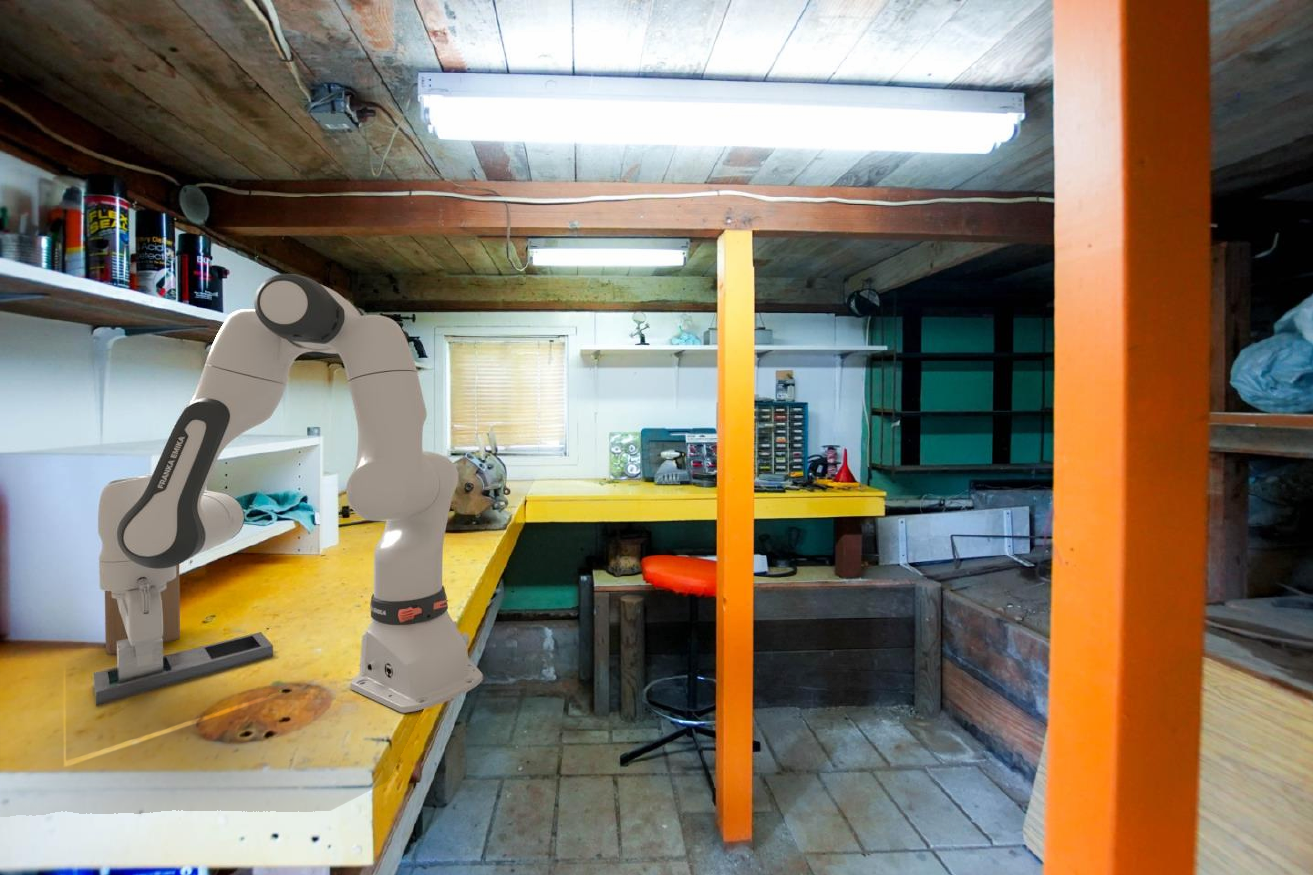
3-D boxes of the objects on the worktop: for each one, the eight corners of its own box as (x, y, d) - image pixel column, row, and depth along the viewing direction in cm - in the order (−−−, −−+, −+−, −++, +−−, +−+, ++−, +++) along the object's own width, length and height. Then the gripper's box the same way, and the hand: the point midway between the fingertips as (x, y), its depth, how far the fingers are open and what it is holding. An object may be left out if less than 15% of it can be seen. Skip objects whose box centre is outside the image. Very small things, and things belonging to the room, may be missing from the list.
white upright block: (163, 681, 84) (162, 640, 83) (119, 693, 80) (118, 650, 80) (159, 671, 87) (159, 631, 87) (117, 682, 83) (116, 640, 83)
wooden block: (105, 642, 99) (103, 542, 99) (175, 627, 107) (174, 534, 106) (106, 658, 93) (104, 551, 92) (180, 641, 100) (179, 542, 100)
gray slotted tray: (273, 659, 93) (272, 645, 93) (96, 709, 77) (95, 692, 76) (260, 644, 99) (260, 631, 99) (93, 688, 82) (93, 672, 82)
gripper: (174, 580, 78) (176, 667, 79) (158, 557, 92) (160, 632, 92) (115, 590, 74) (117, 683, 74) (107, 565, 87) (109, 644, 87)
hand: (141, 655), depth 83 cm, fingers open, 8 cm apart
